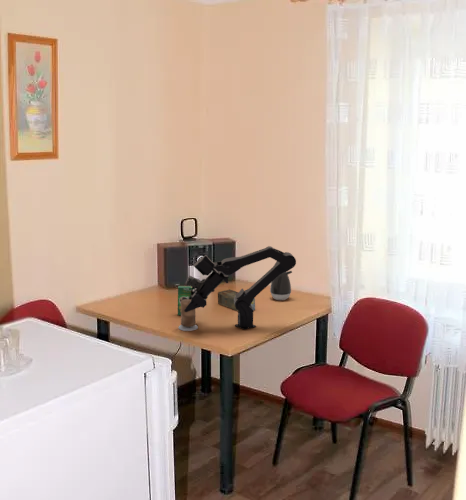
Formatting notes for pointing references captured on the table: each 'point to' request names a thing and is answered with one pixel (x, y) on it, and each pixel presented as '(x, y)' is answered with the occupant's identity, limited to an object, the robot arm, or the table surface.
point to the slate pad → (188, 328)
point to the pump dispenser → (281, 287)
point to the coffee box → (183, 295)
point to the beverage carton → (229, 299)
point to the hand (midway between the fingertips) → (184, 309)
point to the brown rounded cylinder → (187, 314)
